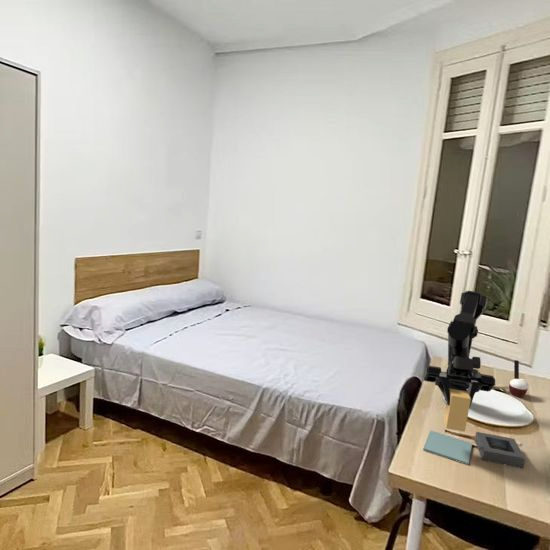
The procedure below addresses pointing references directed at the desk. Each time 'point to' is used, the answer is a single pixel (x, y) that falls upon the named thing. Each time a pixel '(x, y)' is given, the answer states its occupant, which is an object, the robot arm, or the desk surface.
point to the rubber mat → (448, 447)
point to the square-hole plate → (499, 456)
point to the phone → (475, 373)
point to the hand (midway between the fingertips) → (458, 406)
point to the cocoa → (518, 383)
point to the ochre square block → (457, 410)
